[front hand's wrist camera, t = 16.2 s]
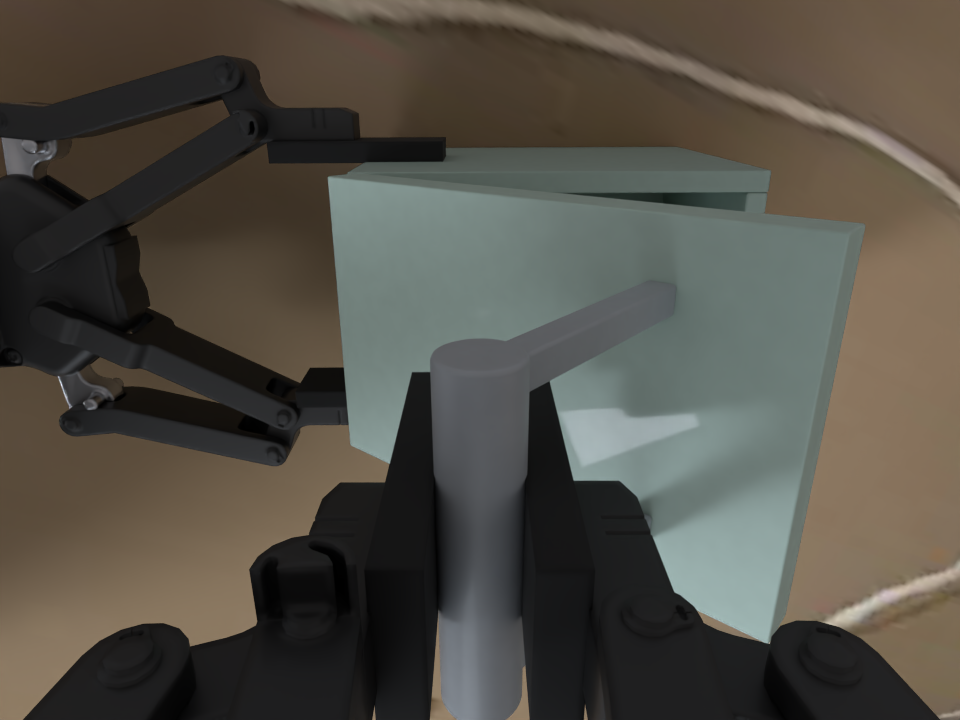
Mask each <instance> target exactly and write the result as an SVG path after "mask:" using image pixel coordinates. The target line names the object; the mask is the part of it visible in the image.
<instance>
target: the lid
mask: <svg viewBox="0 0 960 720" xmlns="http://www.w3.org/2000/svg"><path fill="white" fill-rule="evenodd" d="M328 186H329V198H330V210H331V221H332V233H333V245H334V257H335V269H336V280H337V292H338V304H339V316H340V327H341V339H342V351H343V363H344V375H345V386H346V398H347V410H348V422H349V433H350V444H351V446H353V447H355V448H357V449H360V450H362V451H364V452H366V453H368V454H370V455H372V456H374V457H376V458H378V459H381V460H383V461H385V462H387V463H389V464H390V461H391V457H392V453H393V449H394V444H395V440H396V436H397V432H398V428H399V424H400V420H401V415H402V411H403V407H404V403H405V399H406V395H407V391H408V386H409V382H410V378H411V374H412V372H430V377H431V407H432V436H433V466H434V480H435V513H436V545H437V577H438V613H439V642H440V672H441V695H442V700H443V703H444V705H445V707H446V708H447V710H448V711H449V712H450V714H451V715H452V716H454V717H455V718H456V719H458V720H506V719H507V718H508V717H510V716H511V715H512V714H513V712H514V711H515V710H516V708H517V707H518V705H519V703H520V700H521V696H522V669H523V667H524V666H525V653H524V640H523V628H522V584H523V547H524V511H525V479H526V476H527V469H528V429H529V392H530V391H532V390H534V389H536V388H538V387H539V386H541V385H543V384H545V383H547V382H549V381H550V385H551V389H552V393H553V397H554V401H555V406H556V410H557V414H558V418H559V422H560V426H561V430H562V434H563V439H564V443H565V447H566V451H567V455H568V459H569V463H570V467H571V472H572V476H573V480H574V481H620V482H621V483H623V484H624V485H625V486H626V487H627V488H628V489H629V490H630V491H631V492H632V493H634V494H635V495H636V496H637V498H638V500H639V503H640V505H641V508H642V510H643V513H644V518H645V519H646V521H647V523H648V526H649V528H650V533H651V535H652V536H653V539H654V541H655V544H656V546H657V549H658V551H659V554H660V557H661V559H662V562H663V564H664V567H665V569H666V572H667V575H668V577H669V580H670V582H671V585H672V587H673V590H674V592H675V593H677V594H679V595H681V596H682V597H683V598H685V599H686V600H687V601H688V602H689V603H691V604H692V605H693V606H694V607H695V609H696V610H697V611H699V612H702V613H704V614H706V615H708V616H710V617H712V618H714V619H716V620H718V621H720V622H723V623H725V624H727V625H729V626H731V627H733V628H735V629H737V630H739V631H741V632H744V633H746V634H748V635H750V636H752V637H754V638H756V639H758V640H760V641H762V642H764V643H769V642H770V641H771V637H772V635H773V634H774V633H775V632H776V630H777V629H778V627H779V625H780V623H781V622H782V620H783V618H784V616H785V614H786V610H787V605H788V600H789V595H790V590H791V585H792V580H793V576H794V571H795V566H796V561H797V556H798V551H799V546H800V542H801V537H802V532H803V527H804V522H805V517H806V512H807V508H808V503H809V498H810V493H811V488H812V483H813V478H814V474H815V469H816V464H817V459H818V454H819V449H820V444H821V440H822V435H823V430H824V425H825V420H826V415H827V410H828V406H829V401H830V396H831V391H832V386H833V381H834V376H835V372H836V367H837V362H838V357H839V352H840V347H841V342H842V338H843V333H844V328H845V323H846V318H847V313H848V308H849V304H850V299H851V294H852V289H853V284H854V279H855V274H856V270H857V265H858V260H859V255H860V250H861V245H862V240H863V236H864V231H865V224H863V223H854V222H844V221H834V220H824V219H814V218H804V217H794V216H784V215H774V214H764V213H754V212H744V211H734V210H724V209H714V208H703V207H693V206H683V205H673V204H663V203H653V202H643V201H633V200H623V199H613V198H603V197H593V196H583V195H573V194H563V193H553V192H543V191H533V190H523V189H513V188H503V187H493V186H482V185H472V184H462V183H452V182H442V181H432V180H422V179H412V178H402V177H392V176H382V175H372V174H362V173H354V174H345V175H336V176H329V177H328Z"/></svg>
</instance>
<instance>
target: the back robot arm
mask: <svg viewBox="0 0 960 720" xmlns="http://www.w3.org/2000/svg"><path fill="white" fill-rule="evenodd" d="M220 100H223V101H224V103H225V105H226V107H227V110H228V112H229V114H230V116H229V117H228V118H226V119H224V120H223V121H221V122H220V123H218V124H216V125H215V126H213V127H212V128H210V129H208V130H207V131H205V132H203V133H202V134H200V135H199V136H197V137H195V138H194V139H192V140H190V141H189V142H187V143H186V144H184V145H182V146H181V147H179V148H177V149H176V150H174V151H173V152H171V153H169V154H168V155H166V156H165V157H163V158H161V159H160V160H158V161H156V162H155V163H153V164H152V165H150V166H148V167H147V168H145V169H143V170H142V171H140V172H139V173H137V174H135V175H134V176H132V177H131V178H129V179H127V180H126V181H124V182H122V183H121V184H119V185H118V186H116V187H114V188H113V189H111V190H109V191H108V192H106V193H104V194H102V195H99V196H97V197H95V198H93V199H91V200H87V199H86V198H84V197H83V196H81V195H79V194H78V193H76V192H75V191H73V190H72V189H70V188H68V187H67V186H65V185H64V184H62V183H60V182H59V181H57V180H56V179H54V178H53V177H51V176H49V175H47V166H48V164H49V163H50V162H51V161H53V160H55V159H60V158H63V157H65V156H66V155H67V154H68V153H69V150H70V148H71V146H72V141H71V139H73V138H83V137H92V136H97V135H101V134H105V133H109V132H112V131H116V130H119V129H122V128H126V127H129V126H133V125H136V124H140V123H143V122H147V121H150V120H154V119H157V118H161V117H164V116H168V115H171V114H174V113H178V112H181V111H185V110H188V109H192V108H195V107H199V106H202V105H206V104H209V103H213V102H216V101H220ZM0 137H1V138H2V145H3V151H4V158H5V164H6V170H7V175H6V176H4V177H2V178H0V367H14V366H28V367H32V368H36V369H38V370H41V371H43V372H45V373H47V374H50V375H53V376H58V378H59V381H60V384H61V386H62V389H63V392H64V395H65V397H66V400H67V403H68V406H69V410H68V411H66V412H65V413H64V414H63V415H62V416H60V419H59V424H60V427H61V428H62V430H63V431H64V432H65V433H67V434H68V435H71V436H88V435H98V434H109V433H118V434H122V435H127V436H132V437H137V438H141V439H146V440H151V441H156V442H160V443H165V444H170V445H175V446H179V447H184V448H189V449H194V450H198V451H203V452H208V453H213V454H217V455H222V456H227V457H232V458H236V459H241V460H246V461H251V462H255V463H260V464H265V465H270V466H279V465H282V464H283V463H284V462H285V461H286V459H287V457H288V455H289V453H290V451H291V449H292V448H293V446H294V444H295V442H296V440H297V438H298V436H299V434H300V428H301V427H303V426H307V425H340V424H341V425H349V422H348V410H347V398H346V386H345V375H344V368H310V369H309V370H308V372H307V374H306V375H305V377H304V378H303V380H302V382H301V383H298V382H296V381H294V380H292V379H290V378H287V377H285V376H283V375H281V374H279V373H276V372H274V371H272V370H270V369H268V368H266V367H263V366H261V365H259V364H257V363H255V362H252V361H250V360H248V359H246V358H244V357H241V356H239V355H237V354H235V353H233V352H231V351H228V350H226V349H224V348H222V347H220V346H217V345H215V344H213V343H211V342H209V341H207V340H204V339H202V338H200V337H198V336H196V335H193V334H191V333H189V332H187V331H185V330H183V329H180V328H178V327H176V326H175V325H174V322H173V321H172V320H171V319H170V318H168V317H166V316H164V315H162V314H160V313H158V312H156V311H153V310H151V309H149V308H148V307H149V306H150V302H149V296H148V291H147V288H146V286H145V284H144V281H143V279H142V277H141V275H140V273H139V263H140V249H139V244H138V239H137V236H131V234H130V232H129V231H128V229H127V228H128V227H130V226H132V225H133V224H135V223H137V222H138V221H140V220H142V219H143V218H145V217H147V216H148V215H150V214H151V213H153V212H154V211H155V210H156V209H158V208H159V207H161V206H163V205H164V204H166V203H168V202H169V201H171V200H173V199H174V198H176V197H178V196H179V195H181V194H183V193H184V192H186V191H188V190H189V189H191V188H193V187H194V186H196V185H198V184H199V183H201V182H203V181H204V180H206V179H208V178H209V177H211V176H213V175H214V174H216V173H218V172H219V171H221V170H223V169H224V168H226V167H228V166H229V165H231V164H233V163H234V162H236V161H237V160H239V159H241V158H242V157H244V156H246V155H247V154H249V153H251V152H252V151H254V150H256V149H257V148H259V147H261V146H262V145H264V144H266V143H267V149H268V157H269V163H365V162H443V161H444V159H445V157H446V137H413V138H360V125H359V113H357V112H355V111H352V110H350V109H348V108H282V107H279V106H277V105H275V104H274V103H272V102H271V101H270V100H269V99H268V97H267V95H266V93H265V91H264V89H263V87H262V85H261V82H260V74H259V70H258V68H257V67H256V65H255V64H254V63H252V62H251V61H249V60H246V59H242V58H236V57H230V56H215V57H211V58H208V59H205V60H201V61H198V62H194V63H191V64H188V65H184V66H181V67H177V68H174V69H171V70H167V71H164V72H160V73H157V74H154V75H150V76H147V77H143V78H140V79H137V80H133V81H130V82H126V83H123V84H120V85H116V86H113V87H110V88H106V89H103V90H99V91H96V92H93V93H89V94H86V95H82V96H79V97H76V98H72V99H69V100H65V101H62V102H59V103H55V104H46V103H36V102H30V103H0ZM130 332H132V334H130ZM99 357H102V358H104V359H106V360H109V361H111V362H113V363H115V364H118V365H120V366H122V367H125V368H130V369H137V368H141V369H145V370H147V371H150V372H152V373H154V374H156V375H159V376H161V377H163V378H165V379H168V380H170V381H172V382H174V383H177V384H179V385H181V386H183V387H186V388H188V389H190V390H192V391H195V392H197V393H199V394H201V395H204V396H206V397H208V398H211V399H213V400H215V401H217V402H220V403H216V402H211V401H207V400H202V399H198V398H193V397H189V396H184V395H179V394H175V393H170V392H166V391H161V390H156V389H151V388H145V387H134V386H131V387H123V386H124V383H123V381H122V380H121V379H119V378H113V379H112V378H106V377H102V376H99V375H98V374H96V373H95V372H94V371H93V369H92V367H91V365H90V364H92V363H93V362H94V361H95V360H97V359H98V358H99ZM221 403H222V404H221Z"/></svg>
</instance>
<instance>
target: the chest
mask: <svg viewBox="0 0 960 720" xmlns="http://www.w3.org/2000/svg"><path fill="white" fill-rule="evenodd" d="M354 173H362V174H372V175H382V176H392V177H402V178H412V179H422V180H432V181H442V182H452V183H462V184H472V185H482V186H493V187H503V188H513V189H523V190H533V191H543V192H553V193H563V194H573V195H583V196H593V197H603V198H613V199H623V200H633V201H643V202H653V203H663V204H673V205H683V206H693V207H703V208H714V209H724V210H734V211H744V212H754V213H764V214H765V207H766V200H767V193H766V192H768V190H769V183H770V176H771V170H767V169H763V168H759V167H755V166H751V165H747V164H743V163H739V162H736V161H732V160H728V159H724V158H720V157H716V156H712V155H708V154H704V153H700V152H696V151H692V150H688V149H684V148H680V147H523V148H446V157H445V159H444V161H443V162H365V163H363V164H361V165H360V166H358V167H356V168H355V169H353V170H351V171H349V172H348V173H347V174H354Z"/></svg>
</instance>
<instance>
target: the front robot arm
mask: <svg viewBox="0 0 960 720" xmlns="http://www.w3.org/2000/svg"><path fill="white" fill-rule="evenodd" d="M249 571H250V577H251V583H252V590H253V596H254V602H255V609H256V615H257V624H256V626H254V627H252V628H250V629H248V630H246V631H244V632H242V633H239V634H236V635H233V636H230V637H227V638H223V639H219V640H215V641H211V642H207V643H203V644H199V645H195V646H191V647H190V644H189V639H188V638H187V637H186V636H185V634H184V633H183V632H182V631H181V630H180V629H179V628H176V627H173V626H170V625H167V624H164V623H156V624H141V625H137V626H133V627H130V628H126V629H123V630H120V631H118V632H116V633H114V634H112V635H110V636H108V637H106V638H105V639H103V640H101V641H99V642H98V643H97V644H95V645H94V646H93V647H92V648H91V649H89V650H88V651H87V652H86V653H85V654H84V655H82V656H81V657H80V658H79V659H78V661H77V662H76V663H75V664H74V665H73V666H72V667H71V668H70V669H69V670H68V671H67V673H66V674H65V675H64V676H63V677H62V678H61V679H60V680H59V681H58V682H57V683H56V684H55V686H54V687H53V688H52V689H51V690H50V691H49V692H48V693H47V694H46V695H45V696H44V697H43V699H42V700H41V701H40V702H39V703H38V704H37V705H36V706H35V707H34V708H33V709H32V711H31V712H30V713H29V714H28V715H27V716H26V717H25V718H24V719H23V720H372V717H373V711H374V705H375V715H376V720H430V709H431V697H432V684H433V671H434V659H435V646H436V634H437V621H438V577H437V545H436V513H435V480H434V466H433V436H432V407H431V377H430V372H412V374H411V378H410V382H409V386H408V391H407V395H406V399H405V403H404V407H403V411H402V415H401V420H400V424H399V428H398V432H397V436H396V440H395V444H394V449H393V453H392V457H391V461H390V465H389V469H388V473H387V477H386V482H385V483H339V484H338V485H337V486H336V487H335V488H334V489H333V490H332V491H330V492H329V493H328V494H327V495H326V496H325V497H324V498H323V499H322V501H321V504H320V506H319V509H318V512H317V514H316V517H315V521H314V522H313V525H312V527H311V530H310V532H309V535H307V536H301V537H294V538H290V539H288V540H285V541H283V542H280V543H278V544H275V545H273V546H271V547H270V548H269V549H267V550H266V551H265V552H263V553H262V554H261V555H259V556H258V557H257V559H256V560H255V562H254V563H253V565H252V566H251V568H250V569H249ZM522 628H523V640H524V653H525V665H526V678H527V691H528V703H529V716H530V720H584V709H585V705H586V711H587V717H588V720H940V719H939V718H938V717H937V716H936V715H935V714H934V713H933V711H932V710H931V709H930V708H929V707H928V706H927V705H926V704H925V703H924V702H923V701H922V700H921V699H920V697H919V696H918V695H917V694H916V693H915V692H914V691H913V690H912V689H911V688H910V687H909V686H908V684H907V683H906V682H905V681H904V680H903V679H902V678H901V677H900V676H899V675H898V674H897V673H896V672H895V670H894V669H893V668H892V667H891V666H890V665H889V664H888V663H887V662H886V661H885V660H884V659H883V658H882V656H881V655H880V654H879V653H878V652H876V651H875V650H874V649H873V648H872V647H870V646H869V645H868V644H867V643H866V642H864V641H863V640H862V639H861V638H859V637H857V636H855V635H853V634H851V633H849V632H847V631H845V630H844V629H842V628H840V627H837V626H833V625H829V624H826V623H822V622H818V621H794V622H791V623H788V624H785V625H782V626H780V627H779V628H778V629H777V631H776V632H775V633H774V634H773V635H772V637H771V641H770V644H768V643H763V642H759V641H755V640H751V639H747V638H743V637H739V636H735V635H731V634H728V633H725V632H722V631H719V630H716V629H714V628H712V627H710V626H708V625H706V624H704V623H703V620H702V619H701V617H700V615H699V614H698V612H697V610H696V609H695V607H694V606H693V605H692V604H691V603H689V602H688V601H687V600H686V599H685V598H683V597H682V596H681V595H679V594H677V593H675V592H674V590H673V587H672V585H671V582H670V580H669V577H668V575H667V572H666V569H665V567H664V564H663V562H662V559H661V557H660V554H659V551H658V549H657V546H656V544H655V541H654V539H653V536H652V535H651V533H650V528H649V526H648V523H647V521H646V519H645V518H644V513H643V510H642V508H641V505H640V503H639V500H638V498H637V496H636V495H635V494H634V493H632V492H631V491H630V490H629V489H628V488H627V487H626V486H625V485H624V484H623V483H621V482H620V481H574V480H573V476H572V472H571V467H570V463H569V459H568V455H567V451H566V447H565V443H564V439H563V434H562V430H561V426H560V422H559V418H558V414H557V410H556V406H555V401H554V397H553V393H552V389H551V385H550V381H549V382H547V383H545V384H543V385H541V386H539V387H538V388H536V389H534V390H532V391H530V392H529V429H528V469H527V476H526V479H525V511H524V547H523V584H522Z"/></svg>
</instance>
